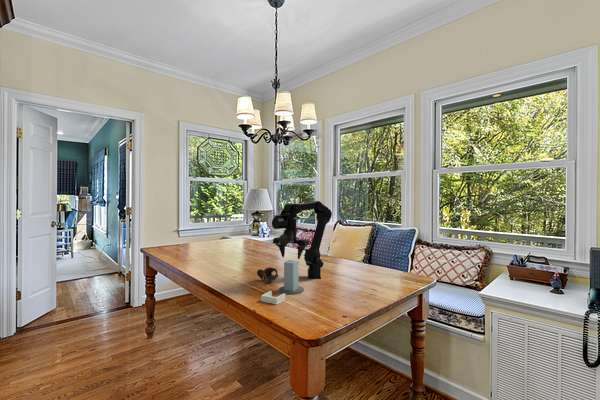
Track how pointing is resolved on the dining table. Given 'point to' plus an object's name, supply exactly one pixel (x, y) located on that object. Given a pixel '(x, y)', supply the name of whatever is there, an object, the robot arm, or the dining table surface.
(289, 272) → the painted block
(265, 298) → the acrylic channel
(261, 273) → the pottery mug
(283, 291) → the rubber mat
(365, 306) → the dining table surface
